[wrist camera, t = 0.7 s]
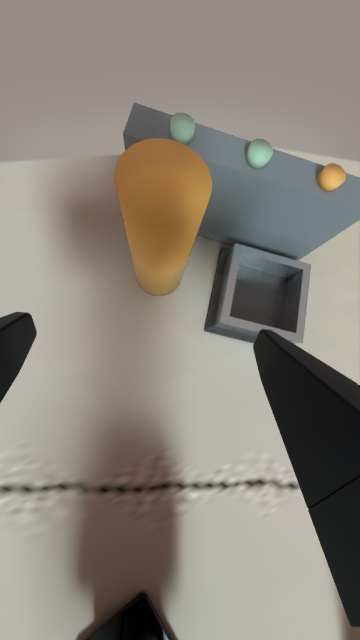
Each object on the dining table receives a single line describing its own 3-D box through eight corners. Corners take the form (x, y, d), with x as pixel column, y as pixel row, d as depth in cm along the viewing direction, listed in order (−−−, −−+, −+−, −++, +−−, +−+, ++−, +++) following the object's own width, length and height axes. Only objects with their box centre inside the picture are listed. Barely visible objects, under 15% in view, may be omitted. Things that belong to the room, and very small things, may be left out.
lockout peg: (189, 282, 23) (229, 198, 11) (150, 304, 22) (147, 239, 10) (166, 245, 23) (180, 126, 11) (127, 265, 22) (96, 158, 10)
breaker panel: (298, 233, 26) (382, 162, 16) (294, 262, 25) (381, 205, 16) (143, 187, 24) (137, 77, 15) (134, 216, 24) (121, 121, 14)
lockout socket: (299, 271, 25) (317, 260, 22) (289, 352, 23) (308, 351, 20) (221, 249, 24) (230, 235, 21) (204, 331, 22) (211, 327, 19)
